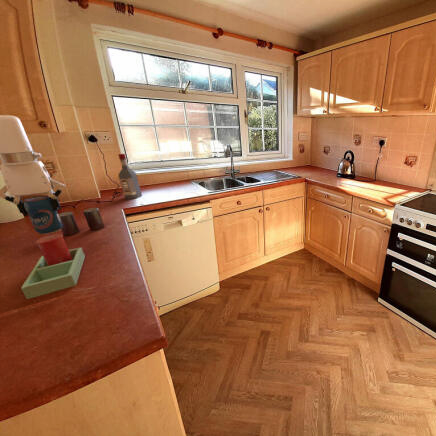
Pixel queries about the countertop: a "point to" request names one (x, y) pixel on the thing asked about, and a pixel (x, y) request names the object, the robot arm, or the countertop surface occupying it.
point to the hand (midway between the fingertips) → (42, 211)
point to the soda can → (42, 214)
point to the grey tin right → (93, 219)
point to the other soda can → (54, 249)
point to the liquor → (128, 180)
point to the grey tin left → (68, 224)
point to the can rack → (53, 275)
